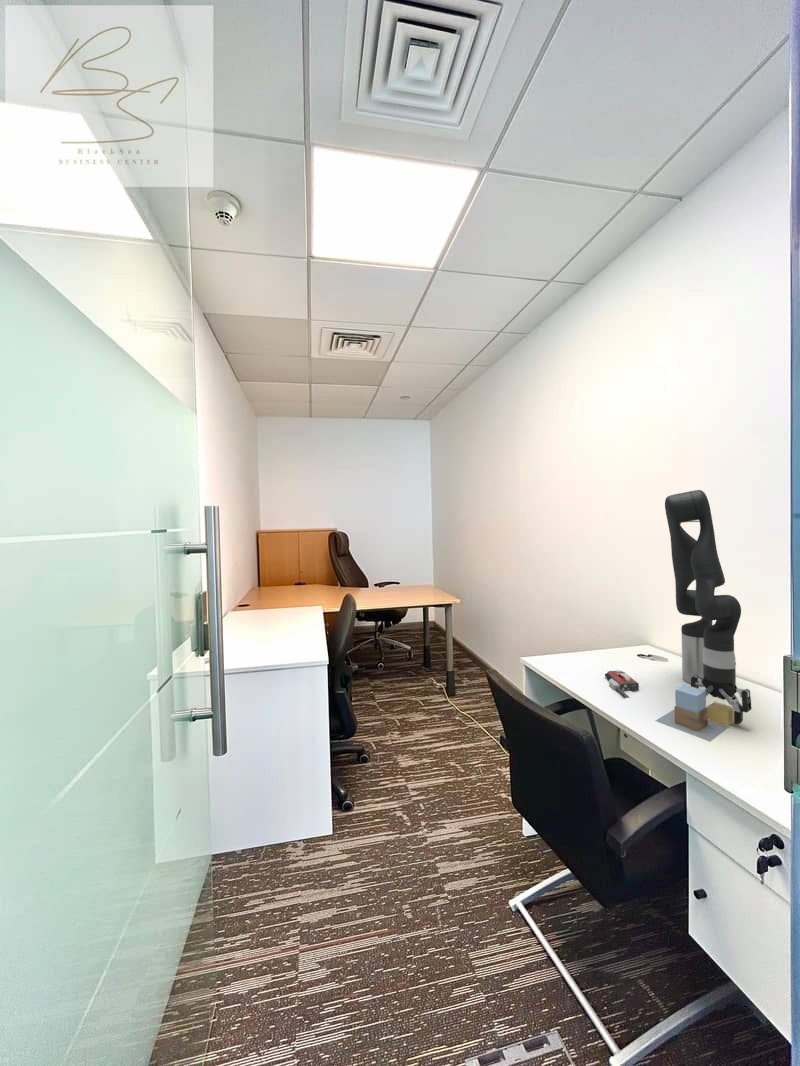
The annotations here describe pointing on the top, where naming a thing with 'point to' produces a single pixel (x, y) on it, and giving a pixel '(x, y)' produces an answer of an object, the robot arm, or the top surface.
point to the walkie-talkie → (621, 682)
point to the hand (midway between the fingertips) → (719, 717)
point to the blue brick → (690, 698)
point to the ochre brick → (721, 713)
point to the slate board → (706, 733)
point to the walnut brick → (691, 718)
